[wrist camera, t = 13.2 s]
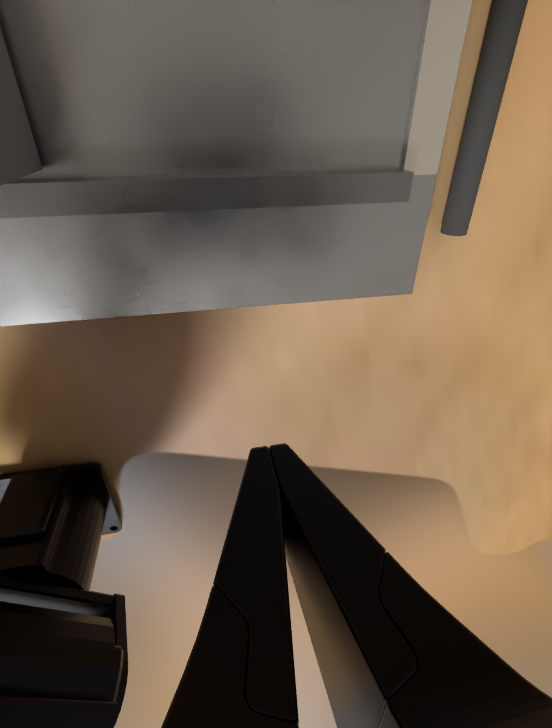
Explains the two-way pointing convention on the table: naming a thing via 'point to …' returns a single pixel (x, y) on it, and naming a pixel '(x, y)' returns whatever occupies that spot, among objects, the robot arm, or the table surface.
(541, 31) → the table surface
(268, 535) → the robot arm
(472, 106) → the dark grey rod
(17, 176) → the toggle
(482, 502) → the table surface
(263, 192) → the panel
